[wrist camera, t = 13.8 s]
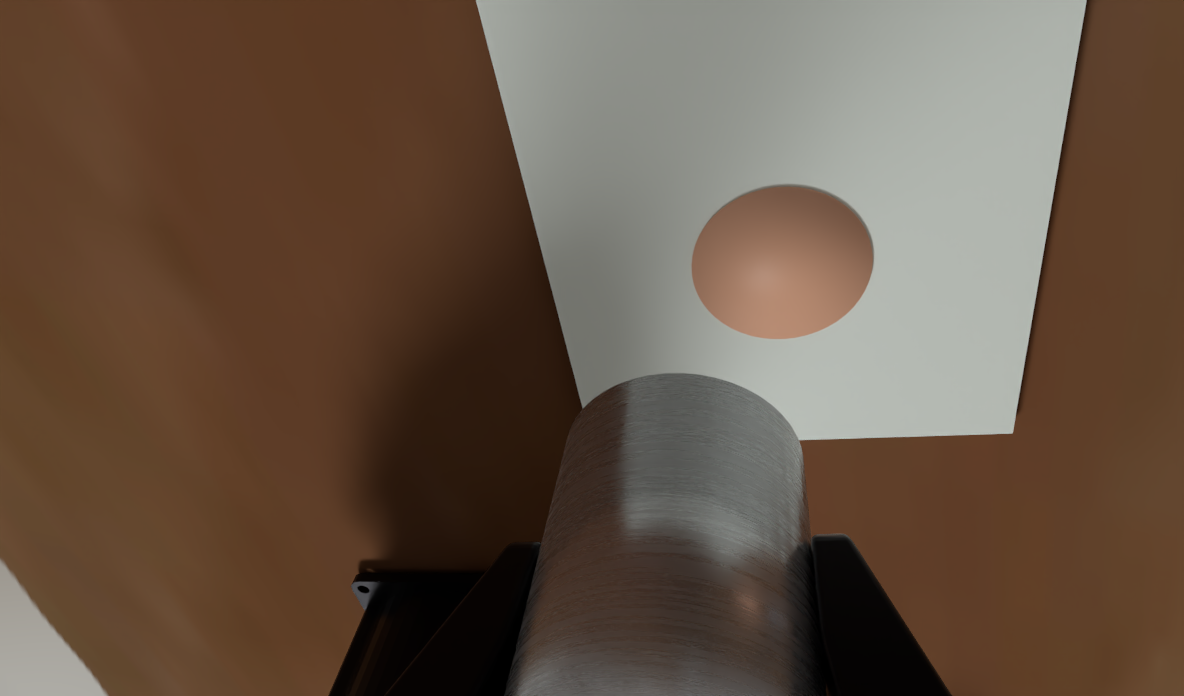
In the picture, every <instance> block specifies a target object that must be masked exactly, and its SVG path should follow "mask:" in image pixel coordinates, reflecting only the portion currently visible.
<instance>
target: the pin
mask: <svg viewBox="0 0 1184 696" xmlns="http://www.w3.org/2000/svg"><path fill="white" fill-rule="evenodd" d="M504 696H827V692H826V682H825V674H824V667H823V658H822V650H821V642H820V631H819V621H818V611H817V601H816V591H815V580H814V570H813V560H812V550H811V530H810V520H809V510H808V500H807V490H806V480H805V470H804V460H803V454H802V448H801V445H800V443H799V440H798V437H797V435H796V433H795V432H794V430H793V428H792V426H791V425H790V424H789V422H788V421H787V420H786V419H785V417H784V416H783V415H782V414H781V413H780V412H779V411H778V410H777V409H776V408H775V407H774V406H773V405H771V404H770V403H769V402H767V401H766V400H764V399H763V398H762V397H760V396H759V395H757V394H755V393H753V392H751V391H749V390H748V389H746V388H743V387H741V386H739V385H736V384H734V383H731V382H728V381H725V380H721V379H718V378H715V377H709V376H704V375H698V374H686V373H663V374H655V375H647V376H643V377H639V378H635V379H631V380H628V381H626V382H623V383H620V384H617V385H615V386H613V387H611V388H610V389H608V390H606V391H604V392H602V393H601V394H600V395H598V396H597V397H595V398H594V399H593V400H591V401H590V402H589V403H588V404H587V405H586V406H585V407H584V408H583V409H582V411H581V412H580V413H579V414H578V416H577V417H576V419H575V421H574V422H573V424H572V426H571V428H570V431H569V434H568V437H567V441H566V445H565V449H564V453H563V457H562V462H561V466H560V470H559V474H558V478H557V482H556V486H555V490H554V494H553V498H552V502H551V506H550V510H549V514H548V518H547V522H546V527H545V531H544V535H543V539H542V543H541V547H540V551H539V555H538V559H537V563H536V567H535V571H534V575H533V579H532V583H531V588H530V592H529V596H528V600H527V604H526V608H525V612H524V616H523V620H522V624H521V628H520V632H519V636H518V640H517V644H516V649H515V653H514V657H513V661H512V665H511V669H510V673H509V677H508V681H507V685H506V689H505V693H504Z"/></svg>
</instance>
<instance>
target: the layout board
mask: <svg viewBox="0 0 1184 696" xmlns="http://www.w3.org/2000/svg"><path fill="white" fill-rule="evenodd" d="M1086 1H1087V0H476V2H477V6H478V10H479V14H480V18H481V22H482V25H483V29H484V33H485V37H486V41H487V45H488V48H489V52H490V56H491V60H492V64H493V68H494V71H495V75H496V79H497V83H498V87H499V90H500V94H501V98H502V102H503V106H504V110H505V113H506V117H507V121H508V125H509V129H510V133H511V136H512V140H513V144H514V148H515V152H516V155H517V159H518V163H519V167H520V171H521V175H522V178H523V182H524V186H525V190H526V194H527V198H528V201H529V205H530V209H531V213H532V217H533V221H534V224H535V228H536V232H537V236H538V240H539V243H540V247H541V251H542V255H543V259H544V263H545V266H546V270H547V274H548V278H549V282H550V286H551V289H552V293H553V297H554V301H555V305H556V308H557V312H558V316H559V320H560V324H561V328H562V331H563V335H564V339H565V343H566V347H567V351H568V354H569V358H570V362H571V366H572V370H573V374H574V377H575V381H576V385H577V389H578V393H579V396H580V400H581V404H582V408H584V407H585V406H586V405H587V404H588V403H589V402H590V401H591V400H593V399H594V398H595V397H597V396H598V395H600V394H601V393H602V392H604V391H606V390H608V389H610V388H611V387H613V386H615V385H617V384H620V383H623V382H626V381H628V380H631V379H635V378H639V377H643V376H647V375H655V374H663V373H686V374H698V375H704V376H709V377H715V378H718V379H721V380H725V381H728V382H731V383H734V384H736V385H739V386H741V387H743V388H746V389H748V390H749V391H751V392H753V393H755V394H757V395H759V396H760V397H762V398H763V399H764V400H766V401H767V402H769V403H770V404H771V405H773V406H774V407H775V408H776V409H777V410H778V411H779V412H780V413H781V414H782V415H783V416H784V417H785V419H786V420H787V421H788V422H789V424H790V425H791V426H792V428H793V430H794V432H795V433H796V435H797V437H798V440H818V439H850V438H882V437H914V436H946V435H978V434H1010V433H1013V428H1014V423H1015V417H1016V411H1017V405H1018V399H1019V393H1020V388H1021V382H1022V376H1023V370H1024V364H1025V358H1026V352H1027V347H1028V341H1029V335H1030V329H1031V323H1032V317H1033V311H1034V306H1035V300H1036V294H1037V288H1038V282H1039V276H1040V270H1041V265H1042V259H1043V253H1044V247H1045V241H1046V235H1047V229H1048V224H1049V218H1050V212H1051V206H1052V200H1053V194H1054V189H1055V183H1056V177H1057V171H1058V165H1059V159H1060V153H1061V148H1062V142H1063V136H1064V130H1065V124H1066V118H1067V112H1068V107H1069V101H1070V95H1071V89H1072V83H1073V77H1074V71H1075V66H1076V60H1077V54H1078V48H1079V42H1080V36H1081V31H1082V25H1083V19H1084V13H1085V7H1086Z"/></svg>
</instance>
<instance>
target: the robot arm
mask: <svg viewBox="0 0 1184 696" xmlns="http://www.w3.org/2000/svg"><path fill="white" fill-rule="evenodd" d="M540 547H541V543H540V542H515V543H511V544H510V545H508V546H507V547H506V548H505V549H504V550H503V551H502V553H501V554H500V555H499V556H498V557H497V559H496V560H495V561H494V562H493V564H492V565H491V566H490V567H489V568H488V570H487V571H486V572H485V573H484V574H395V573H361V574H358V575H356V577H355V579H354V581H353V583H352V586H351V587H352V590H353V592H354V593H355V595H356V597H357V598H358V600H359V602H360V603H361V605H362V607H363V608H364V610H365V612H364V615H363V617H362V619H361V622H360V624H359V626H358V629H357V631H356V633H355V636H354V638H353V640H352V642H351V645H350V647H349V649H348V652H347V654H346V656H345V659H344V661H343V663H342V666H341V668H340V670H339V672H338V675H337V677H336V679H335V682H334V684H333V686H332V689H331V691H330V693H329V696H504V693H505V689H506V685H507V681H508V677H509V673H510V669H511V665H512V661H513V657H514V653H515V649H516V644H517V640H518V636H519V632H520V628H521V624H522V620H523V616H524V612H525V608H526V604H527V600H528V596H529V592H530V588H531V583H532V579H533V575H534V571H535V567H536V563H537V559H538V555H539V551H540ZM811 550H812V560H813V570H814V580H815V591H816V601H817V611H818V621H819V631H820V642H821V650H822V658H823V667H824V674H825V682H826V692H827V696H952V695H951V694H950V692H949V690H948V689H947V687H946V686H945V684H944V683H943V681H942V680H941V678H940V676H939V675H938V673H937V672H936V670H935V669H934V667H933V666H932V664H931V662H930V661H929V659H928V658H927V656H926V655H925V653H924V652H923V650H922V648H921V647H920V645H919V644H918V642H917V641H916V639H915V638H914V636H913V634H912V633H911V631H910V630H909V628H908V627H907V625H906V624H905V622H904V620H903V619H902V617H901V616H900V614H899V613H898V611H897V610H896V608H895V606H894V605H893V603H892V602H891V600H890V599H889V597H888V596H887V594H886V592H885V591H884V589H883V588H882V586H881V585H880V583H879V582H878V580H877V579H876V577H875V575H874V574H873V572H872V571H871V569H870V568H869V566H868V565H867V563H866V561H865V560H864V558H863V557H862V555H861V554H860V552H859V551H858V549H857V547H856V546H855V544H854V543H853V541H852V540H851V539H850V538H849V537H848V536H847V535H845V534H817V535H814V536H813V537H812V539H811Z"/></svg>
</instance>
